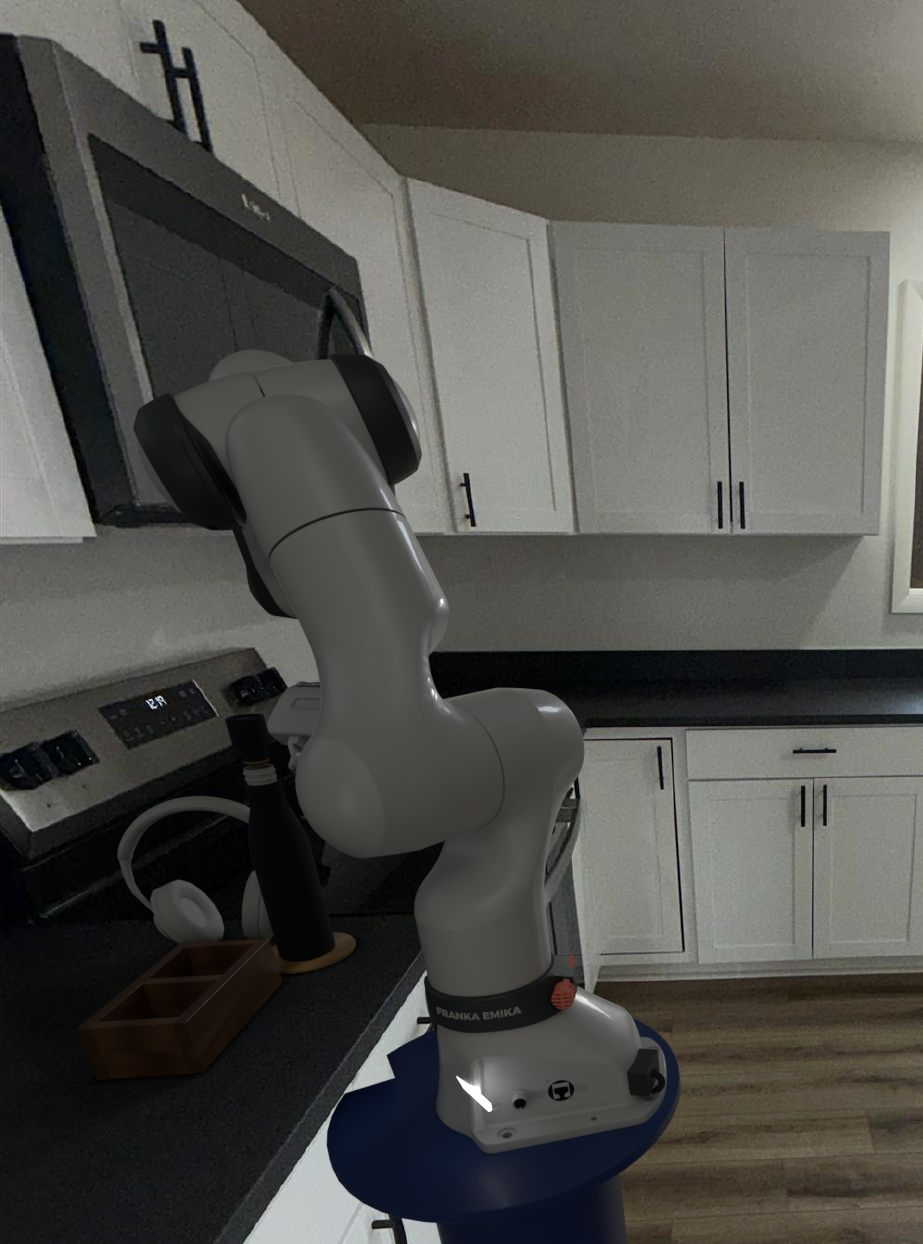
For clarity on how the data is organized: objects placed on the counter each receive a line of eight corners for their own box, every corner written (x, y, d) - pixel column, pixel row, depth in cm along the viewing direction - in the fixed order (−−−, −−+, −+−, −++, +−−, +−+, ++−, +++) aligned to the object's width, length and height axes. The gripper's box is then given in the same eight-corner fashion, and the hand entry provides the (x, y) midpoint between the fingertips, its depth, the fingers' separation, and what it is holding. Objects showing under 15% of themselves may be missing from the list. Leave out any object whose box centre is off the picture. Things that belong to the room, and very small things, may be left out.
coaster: (368, 932, 116) (367, 929, 115) (337, 971, 106) (337, 968, 105) (282, 936, 114) (281, 934, 114) (243, 976, 104) (242, 973, 104)
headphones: (137, 970, 106) (81, 816, 98) (163, 939, 114) (112, 794, 106) (305, 949, 111) (265, 801, 103) (318, 920, 119) (282, 781, 111)
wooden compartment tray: (282, 982, 103) (269, 938, 101) (203, 1073, 86) (185, 1022, 84) (195, 987, 102) (180, 942, 99) (97, 1080, 85) (76, 1029, 83)
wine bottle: (282, 966, 106) (212, 725, 93) (277, 947, 111) (210, 715, 98) (339, 953, 109) (279, 718, 97) (332, 934, 114) (274, 709, 102)
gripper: (274, 667, 115) (240, 757, 110) (415, 671, 113) (387, 762, 108) (304, 695, 121) (273, 781, 116) (438, 698, 118) (413, 786, 114)
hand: (329, 772), depth 112 cm, fingers open, 8 cm apart
